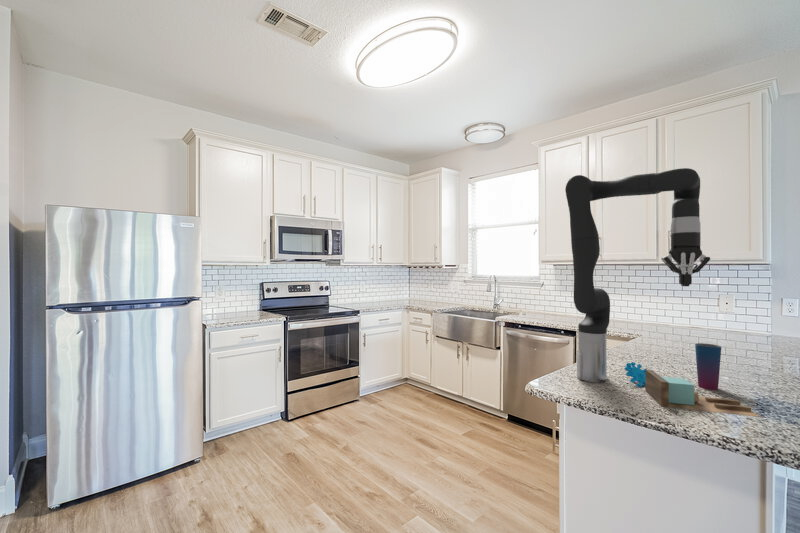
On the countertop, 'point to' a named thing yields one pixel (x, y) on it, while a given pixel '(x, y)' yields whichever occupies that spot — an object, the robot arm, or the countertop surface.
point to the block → (680, 391)
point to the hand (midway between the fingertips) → (685, 286)
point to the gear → (636, 373)
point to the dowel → (696, 397)
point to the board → (660, 394)
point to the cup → (708, 365)
